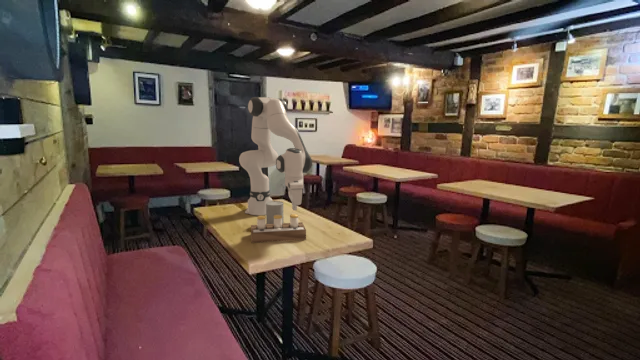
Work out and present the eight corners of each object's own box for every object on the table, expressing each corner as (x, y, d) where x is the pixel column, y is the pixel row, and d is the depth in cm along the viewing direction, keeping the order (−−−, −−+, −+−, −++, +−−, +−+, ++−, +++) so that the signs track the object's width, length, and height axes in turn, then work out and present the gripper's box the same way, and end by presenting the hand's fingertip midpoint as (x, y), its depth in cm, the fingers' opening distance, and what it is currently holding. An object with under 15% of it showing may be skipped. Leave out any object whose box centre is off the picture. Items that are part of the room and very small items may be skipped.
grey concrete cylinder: (280, 228, 179) (280, 205, 177) (263, 226, 181) (263, 204, 179) (285, 222, 188) (285, 201, 186) (269, 221, 190) (269, 200, 188)
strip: (253, 230, 159) (253, 229, 159) (303, 227, 164) (303, 226, 164) (253, 232, 157) (253, 231, 156) (303, 229, 161) (304, 228, 161)
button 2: (289, 229, 168) (289, 214, 167) (297, 228, 169) (297, 213, 168) (290, 231, 164) (290, 216, 163) (298, 231, 165) (298, 216, 164)
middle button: (273, 230, 166) (273, 215, 165) (281, 229, 167) (281, 214, 166) (274, 232, 163) (274, 217, 161) (282, 232, 163) (282, 216, 162)
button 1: (257, 231, 165) (256, 215, 163) (265, 230, 166) (265, 215, 164) (257, 233, 161) (257, 218, 159) (266, 233, 162) (265, 217, 160)
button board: (251, 234, 169) (251, 224, 168) (302, 231, 174) (302, 222, 173) (251, 243, 157) (251, 232, 156) (306, 239, 162) (306, 229, 161)
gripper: (285, 178, 172) (285, 204, 174) (290, 186, 152) (290, 215, 154) (297, 178, 173) (297, 204, 175) (304, 185, 153) (304, 214, 155)
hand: (294, 209), depth 165 cm, fingers closed
